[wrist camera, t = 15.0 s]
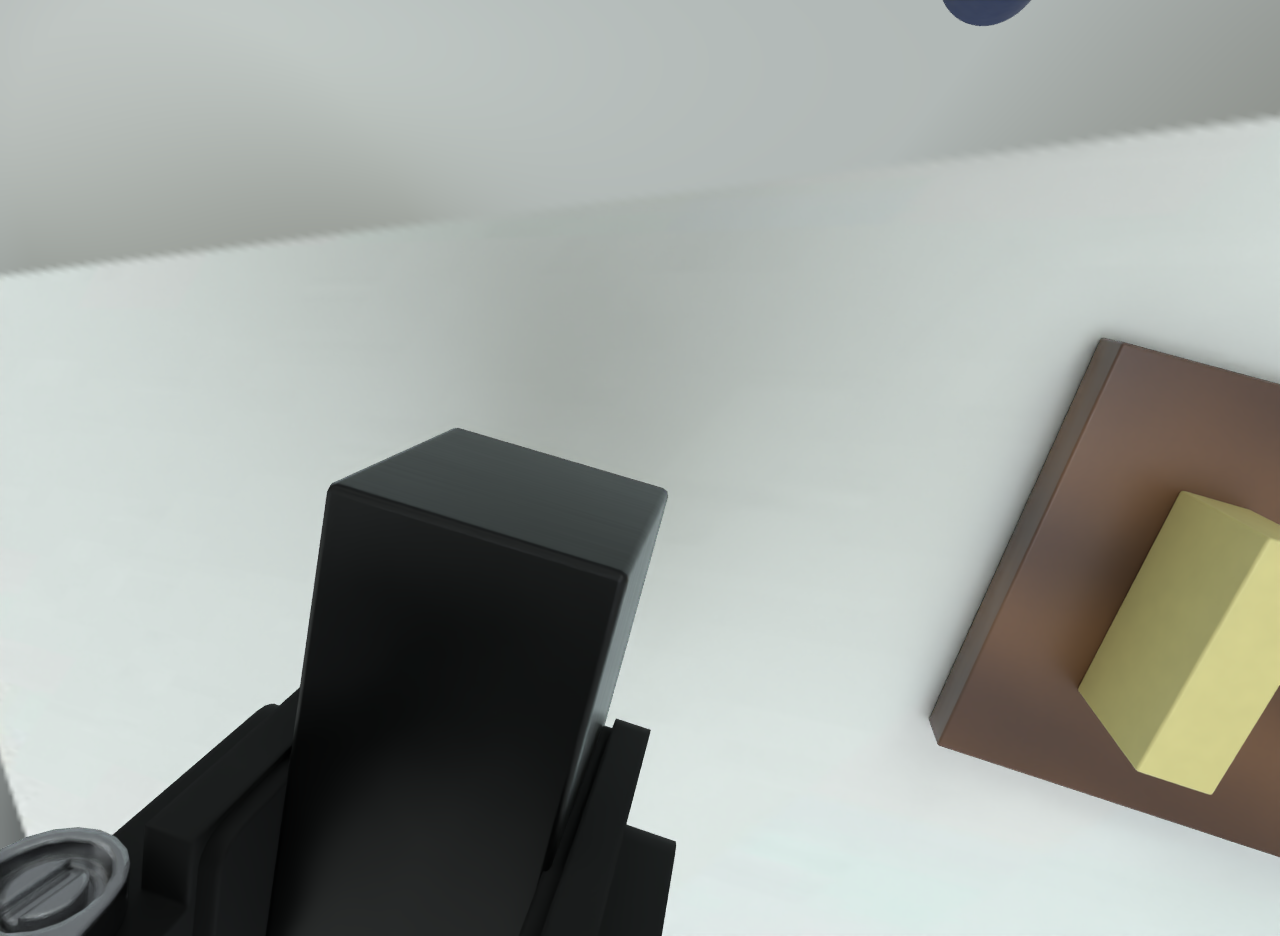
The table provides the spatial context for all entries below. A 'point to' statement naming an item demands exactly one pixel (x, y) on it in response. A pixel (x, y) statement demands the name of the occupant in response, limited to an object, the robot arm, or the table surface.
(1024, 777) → the table surface
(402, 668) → the knife
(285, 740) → the robot arm
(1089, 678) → the butter slice
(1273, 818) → the board
